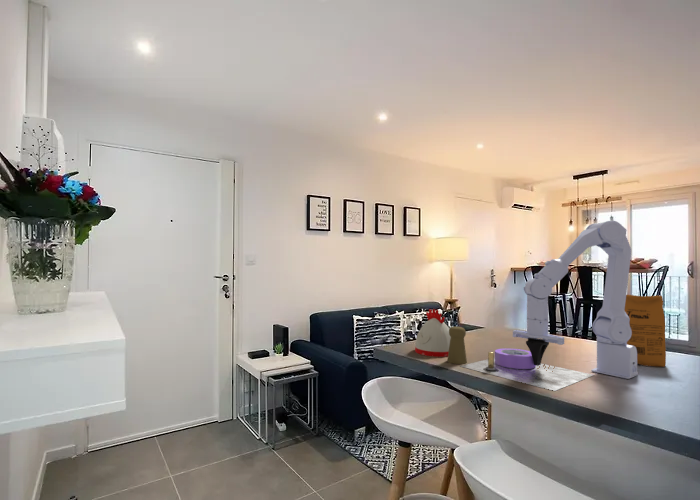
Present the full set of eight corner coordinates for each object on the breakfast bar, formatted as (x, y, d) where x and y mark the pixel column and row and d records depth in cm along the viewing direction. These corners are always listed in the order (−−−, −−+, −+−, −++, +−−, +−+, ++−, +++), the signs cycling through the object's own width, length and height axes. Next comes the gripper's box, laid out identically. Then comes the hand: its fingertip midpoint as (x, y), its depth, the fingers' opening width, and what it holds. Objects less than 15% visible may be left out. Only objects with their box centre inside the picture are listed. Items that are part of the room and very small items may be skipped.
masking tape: (487, 360, 126) (487, 348, 126) (518, 359, 129) (518, 347, 129) (511, 370, 114) (511, 357, 114) (544, 368, 117) (544, 355, 118)
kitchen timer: (434, 346, 147) (434, 306, 148) (464, 353, 136) (464, 310, 136) (407, 350, 139) (407, 308, 140) (435, 358, 128) (436, 312, 129)
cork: (451, 358, 129) (451, 324, 129) (469, 361, 125) (469, 326, 125) (444, 362, 124) (444, 327, 124) (463, 365, 120) (463, 329, 120)
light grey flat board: (594, 375, 111) (594, 374, 111) (554, 391, 97) (554, 390, 97) (503, 355, 134) (503, 355, 134) (459, 366, 119) (459, 365, 119)
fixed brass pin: (498, 370, 115) (498, 352, 115) (492, 371, 113) (492, 354, 113) (489, 367, 117) (489, 351, 117) (484, 369, 115) (484, 352, 115)
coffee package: (615, 357, 134) (615, 292, 135) (661, 362, 128) (660, 294, 129) (619, 363, 125) (619, 294, 126) (668, 369, 120) (668, 296, 120)
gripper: (507, 317, 120) (507, 361, 119) (556, 323, 109) (556, 372, 108) (519, 315, 124) (519, 358, 124) (567, 321, 113) (567, 368, 112)
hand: (537, 365), depth 116 cm, fingers closed
